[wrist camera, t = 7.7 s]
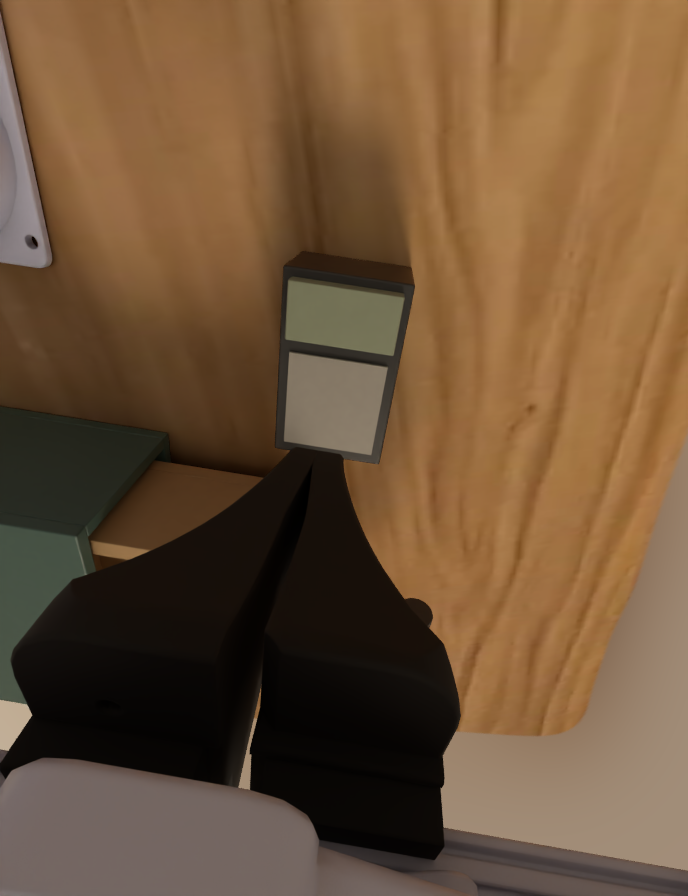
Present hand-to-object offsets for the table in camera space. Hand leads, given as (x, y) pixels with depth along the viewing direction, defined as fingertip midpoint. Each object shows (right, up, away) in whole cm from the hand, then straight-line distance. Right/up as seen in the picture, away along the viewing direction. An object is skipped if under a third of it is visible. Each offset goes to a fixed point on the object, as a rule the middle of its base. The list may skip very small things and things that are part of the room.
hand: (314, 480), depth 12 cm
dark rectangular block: (+1, +5, +7) cm, 9 cm away
